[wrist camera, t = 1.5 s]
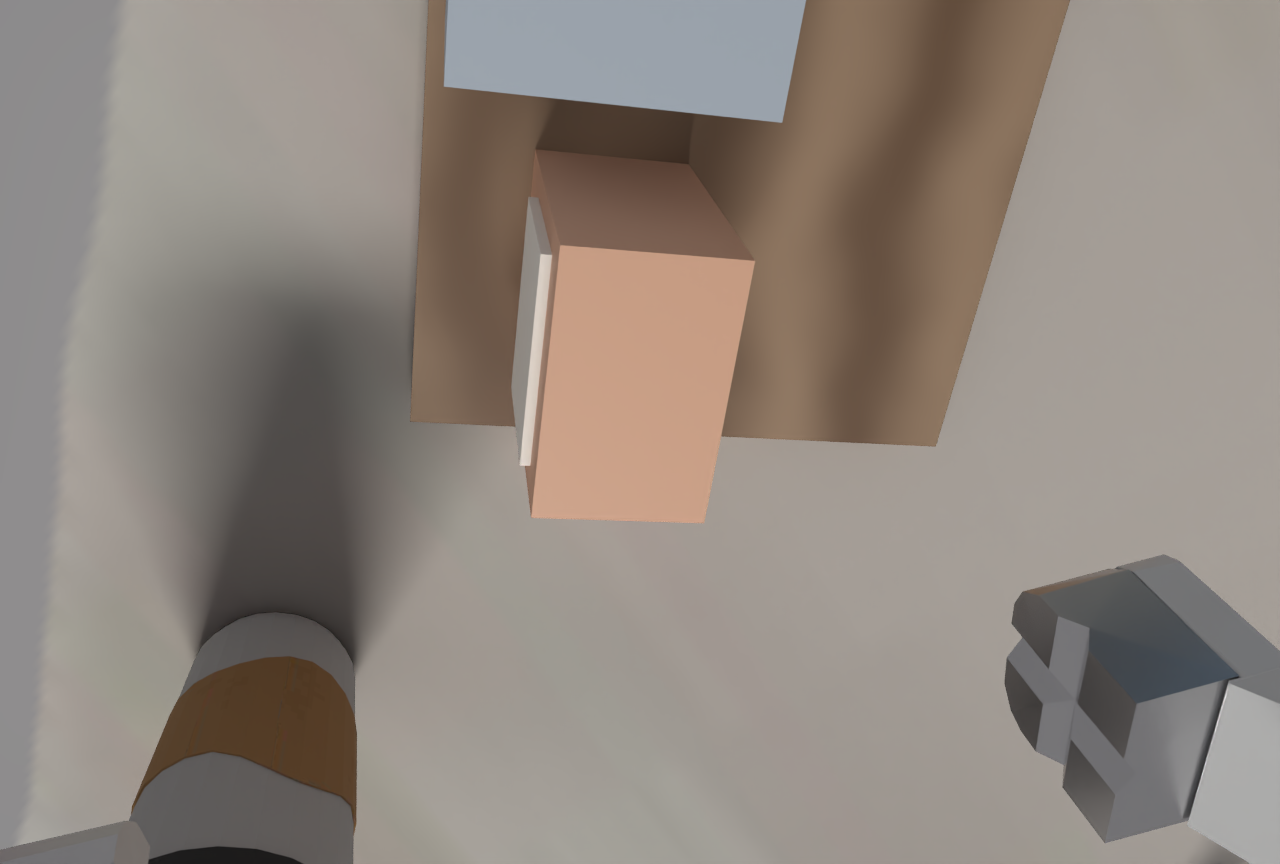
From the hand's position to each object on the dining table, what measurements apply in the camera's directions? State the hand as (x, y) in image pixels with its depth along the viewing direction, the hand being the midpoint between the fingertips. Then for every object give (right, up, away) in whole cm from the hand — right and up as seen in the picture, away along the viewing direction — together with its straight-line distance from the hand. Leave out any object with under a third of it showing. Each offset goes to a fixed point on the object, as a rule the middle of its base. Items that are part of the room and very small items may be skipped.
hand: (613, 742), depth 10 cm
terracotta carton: (-1, +8, +27) cm, 28 cm away
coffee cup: (-15, -7, +36) cm, 39 cm away
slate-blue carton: (-1, +17, +22) cm, 28 cm away
